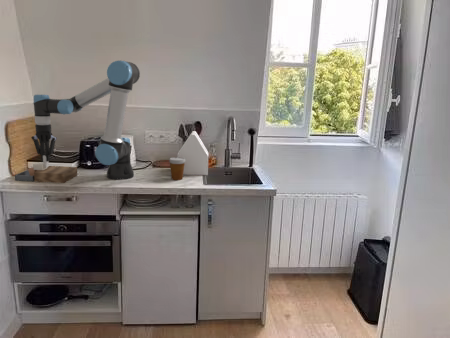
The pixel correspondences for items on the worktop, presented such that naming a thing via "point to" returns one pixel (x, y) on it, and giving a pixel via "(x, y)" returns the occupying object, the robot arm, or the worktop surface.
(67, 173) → the walnut board
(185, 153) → the white house model
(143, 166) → the worktop surface
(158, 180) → the worktop surface
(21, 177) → the tray
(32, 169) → the terracotta tile
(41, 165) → the cream tile
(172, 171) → the disposable coffee cup
